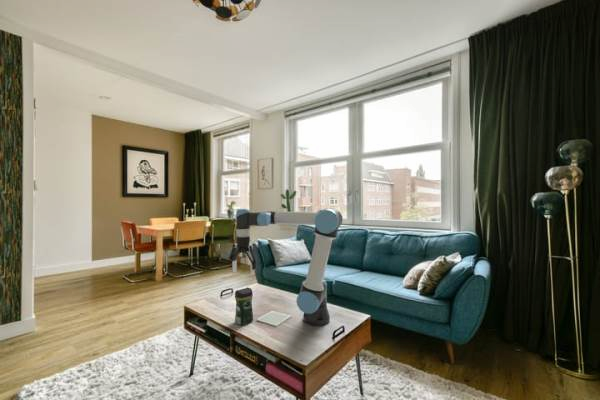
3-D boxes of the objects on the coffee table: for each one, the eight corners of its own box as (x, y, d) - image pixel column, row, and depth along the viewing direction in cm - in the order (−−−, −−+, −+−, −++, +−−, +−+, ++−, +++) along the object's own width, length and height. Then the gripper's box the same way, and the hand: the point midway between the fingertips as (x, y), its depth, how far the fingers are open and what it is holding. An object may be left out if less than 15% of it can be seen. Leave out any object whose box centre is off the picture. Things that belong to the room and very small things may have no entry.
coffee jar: (247, 317, 159) (247, 285, 159) (255, 321, 153) (255, 288, 153) (232, 322, 152) (232, 289, 152) (240, 327, 146) (240, 292, 146)
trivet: (291, 317, 158) (291, 315, 158) (276, 326, 146) (276, 325, 146) (272, 312, 166) (272, 310, 166) (256, 320, 154) (256, 319, 154)
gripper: (264, 236, 151) (265, 275, 151) (231, 234, 164) (232, 269, 164) (255, 238, 145) (256, 278, 145) (222, 235, 157) (222, 272, 157)
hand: (243, 273), depth 154 cm, fingers open, 13 cm apart
